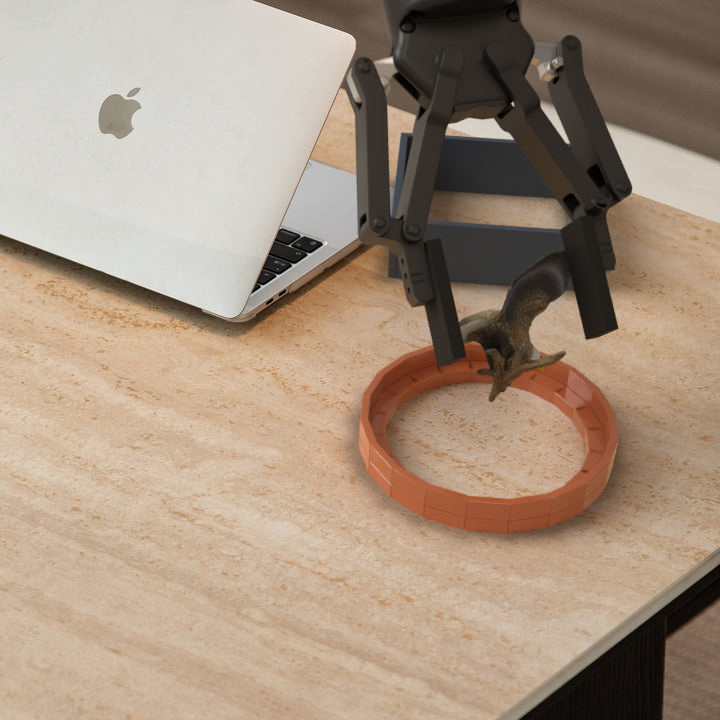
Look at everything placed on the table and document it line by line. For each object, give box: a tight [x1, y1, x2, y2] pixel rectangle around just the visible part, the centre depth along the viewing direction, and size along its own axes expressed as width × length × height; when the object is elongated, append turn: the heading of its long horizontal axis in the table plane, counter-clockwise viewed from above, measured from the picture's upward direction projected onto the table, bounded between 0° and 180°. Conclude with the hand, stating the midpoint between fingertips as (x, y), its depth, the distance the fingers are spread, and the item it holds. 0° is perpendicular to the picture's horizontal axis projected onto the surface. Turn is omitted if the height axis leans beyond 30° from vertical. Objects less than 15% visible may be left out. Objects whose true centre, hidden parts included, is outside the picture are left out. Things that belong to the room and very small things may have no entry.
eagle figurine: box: [459, 250, 571, 403], centre depth 71 cm, size 8×7×9 cm
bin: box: [387, 132, 575, 292], centre depth 95 cm, size 14×14×6 cm
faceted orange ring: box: [358, 341, 620, 534], centre depth 76 cm, size 15×15×3 cm
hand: (528, 347), depth 68 cm, fingers closed on eagle figurine, 8 cm apart
